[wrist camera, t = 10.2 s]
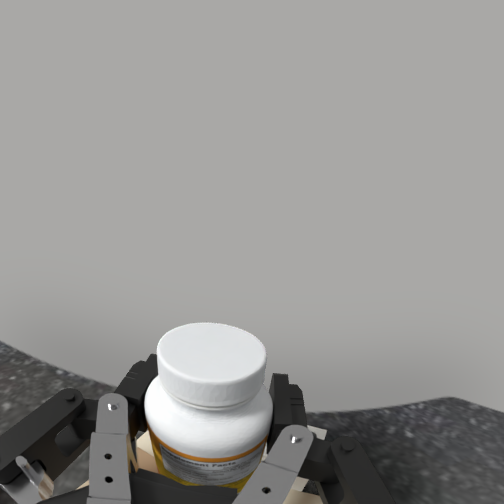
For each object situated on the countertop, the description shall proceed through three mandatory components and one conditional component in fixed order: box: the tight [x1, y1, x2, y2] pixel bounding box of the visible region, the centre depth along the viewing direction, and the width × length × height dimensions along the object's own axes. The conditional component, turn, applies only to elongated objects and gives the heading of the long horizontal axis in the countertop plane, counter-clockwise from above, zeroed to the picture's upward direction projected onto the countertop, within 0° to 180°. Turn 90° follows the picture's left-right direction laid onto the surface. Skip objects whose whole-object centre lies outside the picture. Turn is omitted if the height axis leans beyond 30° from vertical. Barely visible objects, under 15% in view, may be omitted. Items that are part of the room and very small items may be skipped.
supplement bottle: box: [144, 323, 273, 495], centre depth 11 cm, size 5×5×10 cm
